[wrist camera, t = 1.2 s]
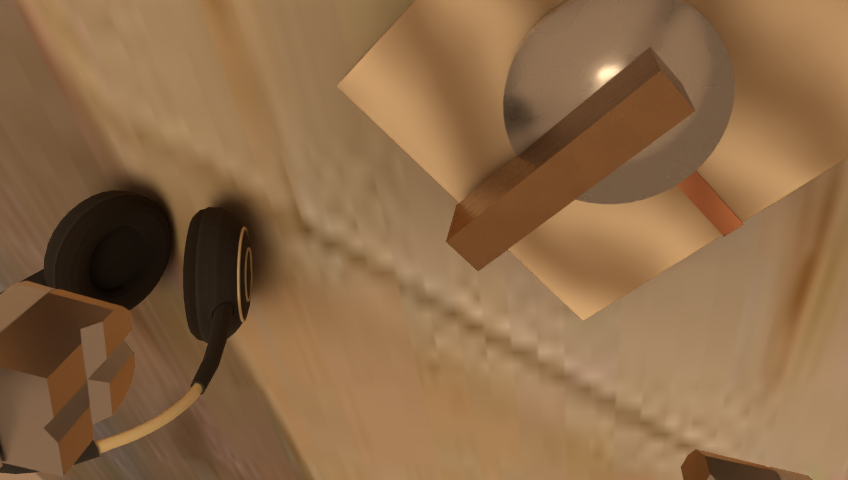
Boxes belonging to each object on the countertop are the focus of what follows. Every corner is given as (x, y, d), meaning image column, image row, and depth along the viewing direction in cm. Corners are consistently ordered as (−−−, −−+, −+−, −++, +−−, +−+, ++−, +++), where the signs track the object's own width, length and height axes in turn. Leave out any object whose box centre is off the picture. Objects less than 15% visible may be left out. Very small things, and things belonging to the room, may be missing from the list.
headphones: (84, 159, 44) (-214, 358, 27) (294, 195, 42) (116, 429, 25) (106, 263, 48) (-136, 488, 31) (296, 299, 47) (147, 555, 30)
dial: (634, -70, 29) (646, -55, 25) (774, 102, 32) (808, 143, 27) (406, 144, 37) (385, 185, 32) (536, 268, 39) (532, 322, 35)
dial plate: (654, -262, 27) (659, -268, 25) (917, 95, 32) (934, 107, 31) (344, 77, 37) (335, 87, 36) (582, 306, 42) (583, 323, 41)
